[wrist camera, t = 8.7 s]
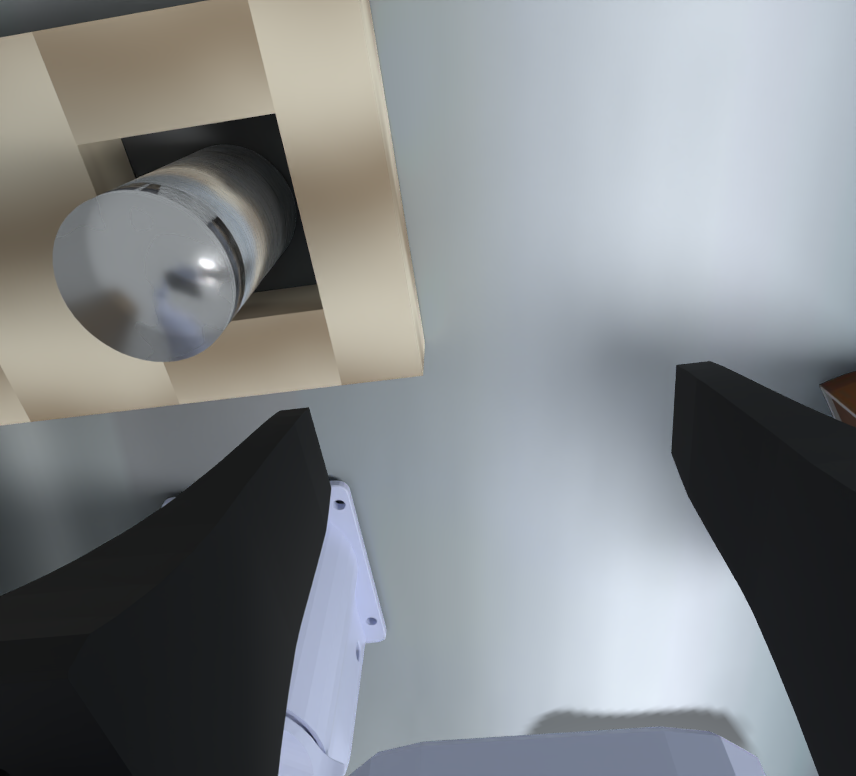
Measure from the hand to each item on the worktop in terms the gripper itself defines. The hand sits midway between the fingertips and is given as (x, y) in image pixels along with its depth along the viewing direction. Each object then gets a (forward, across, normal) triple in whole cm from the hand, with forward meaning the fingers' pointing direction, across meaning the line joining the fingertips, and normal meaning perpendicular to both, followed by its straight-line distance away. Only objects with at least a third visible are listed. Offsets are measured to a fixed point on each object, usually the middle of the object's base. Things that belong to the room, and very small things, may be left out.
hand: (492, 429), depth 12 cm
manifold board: (+10, +12, -3) cm, 16 cm away
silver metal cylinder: (+10, +7, -3) cm, 13 cm away
